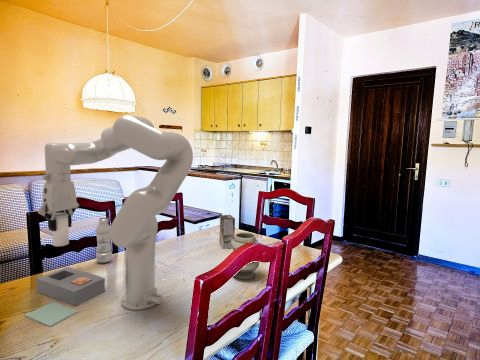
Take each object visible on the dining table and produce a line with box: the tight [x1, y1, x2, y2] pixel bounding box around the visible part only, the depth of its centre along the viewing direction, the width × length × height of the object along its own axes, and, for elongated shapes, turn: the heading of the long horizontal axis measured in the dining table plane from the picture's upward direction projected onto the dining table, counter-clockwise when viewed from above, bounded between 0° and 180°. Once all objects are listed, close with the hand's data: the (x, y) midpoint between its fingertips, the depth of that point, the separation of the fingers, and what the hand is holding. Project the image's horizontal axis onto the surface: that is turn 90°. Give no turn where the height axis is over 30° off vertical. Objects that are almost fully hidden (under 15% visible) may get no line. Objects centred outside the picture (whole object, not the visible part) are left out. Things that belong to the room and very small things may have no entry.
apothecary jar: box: [231, 231, 260, 282], centre depth 128 cm, size 12×12×18 cm
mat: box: [24, 301, 79, 328], centre depth 96 cm, size 12×9×1 cm
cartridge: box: [51, 212, 70, 247], centre depth 110 cm, size 5×5×11 cm
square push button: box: [72, 277, 91, 286], centre depth 108 cm, size 4×4×6 cm
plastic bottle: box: [95, 217, 113, 264], centre depth 137 cm, size 6×7×20 cm
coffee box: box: [218, 214, 236, 250], centre depth 165 cm, size 9×6×16 cm
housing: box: [35, 266, 106, 307], centre depth 111 cm, size 20×12×5 cm, turn 65°
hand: (60, 227), depth 110 cm, fingers closed on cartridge, 5 cm apart
